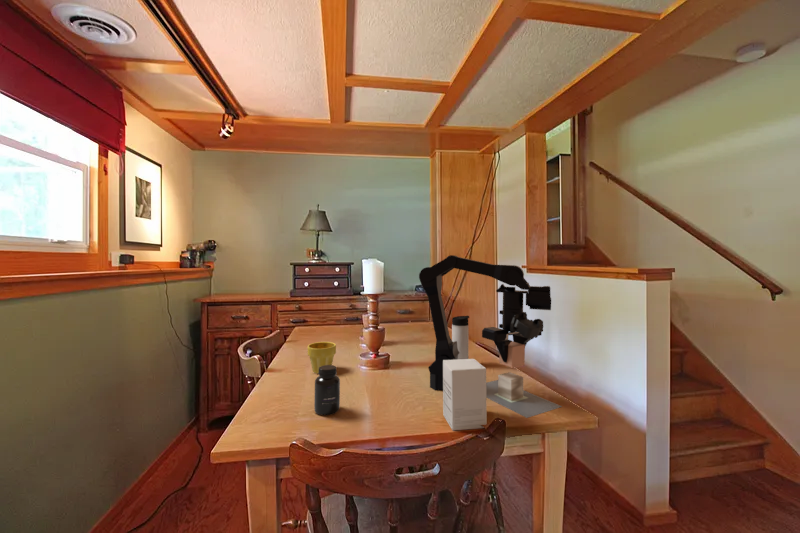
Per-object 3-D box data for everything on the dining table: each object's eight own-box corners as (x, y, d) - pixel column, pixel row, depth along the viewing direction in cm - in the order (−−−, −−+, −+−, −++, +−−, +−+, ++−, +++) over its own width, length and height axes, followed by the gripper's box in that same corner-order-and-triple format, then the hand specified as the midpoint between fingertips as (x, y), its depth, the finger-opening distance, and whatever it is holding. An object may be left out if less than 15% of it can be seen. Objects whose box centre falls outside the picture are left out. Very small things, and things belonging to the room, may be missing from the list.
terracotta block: (512, 367, 97) (512, 346, 97) (499, 362, 101) (499, 342, 101) (524, 365, 99) (524, 344, 99) (511, 360, 103) (511, 341, 103)
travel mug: (470, 370, 128) (470, 317, 127) (453, 370, 128) (453, 317, 127) (467, 365, 134) (467, 314, 134) (450, 365, 134) (451, 314, 134)
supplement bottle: (327, 418, 89) (327, 372, 89) (309, 412, 92) (308, 368, 92) (345, 408, 95) (344, 365, 94) (327, 403, 98) (326, 362, 98)
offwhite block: (511, 400, 97) (511, 379, 97) (498, 394, 102) (498, 374, 102) (523, 397, 100) (523, 376, 100) (510, 391, 104) (510, 372, 104)
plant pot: (332, 375, 122) (332, 348, 122) (304, 375, 122) (304, 348, 122) (338, 366, 132) (338, 341, 132) (311, 366, 132) (311, 341, 132)
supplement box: (474, 412, 92) (474, 357, 92) (487, 428, 83) (487, 368, 83) (442, 414, 91) (442, 359, 91) (451, 431, 82) (451, 369, 82)
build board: (526, 421, 87) (526, 417, 87) (466, 390, 108) (466, 386, 108) (562, 410, 94) (562, 406, 94) (498, 382, 115) (498, 379, 115)
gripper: (510, 314, 88) (509, 373, 89) (558, 309, 97) (556, 364, 97) (481, 308, 98) (480, 362, 98) (526, 305, 107) (525, 354, 107)
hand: (511, 360), depth 100 cm, fingers closed on terracotta block, 5 cm apart
